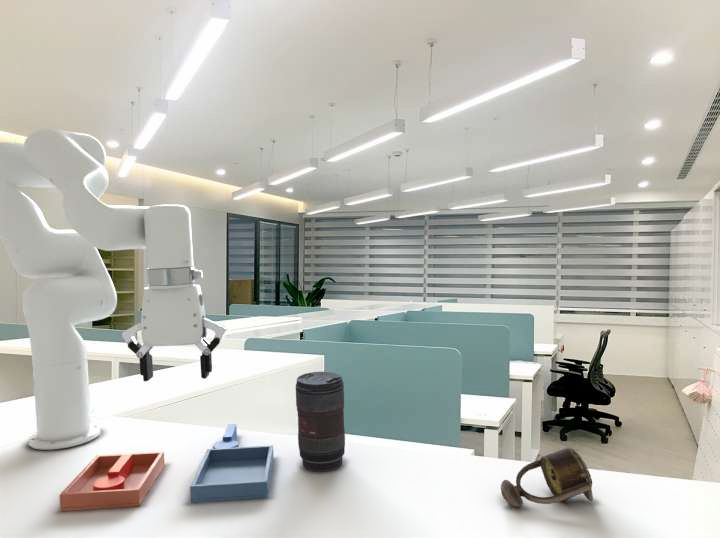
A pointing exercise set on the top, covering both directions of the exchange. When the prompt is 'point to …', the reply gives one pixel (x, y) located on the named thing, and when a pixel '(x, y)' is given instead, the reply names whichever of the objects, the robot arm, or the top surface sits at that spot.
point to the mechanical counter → (553, 479)
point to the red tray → (134, 493)
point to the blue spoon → (228, 438)
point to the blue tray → (233, 474)
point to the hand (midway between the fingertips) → (177, 378)
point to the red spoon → (115, 475)
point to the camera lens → (320, 420)
